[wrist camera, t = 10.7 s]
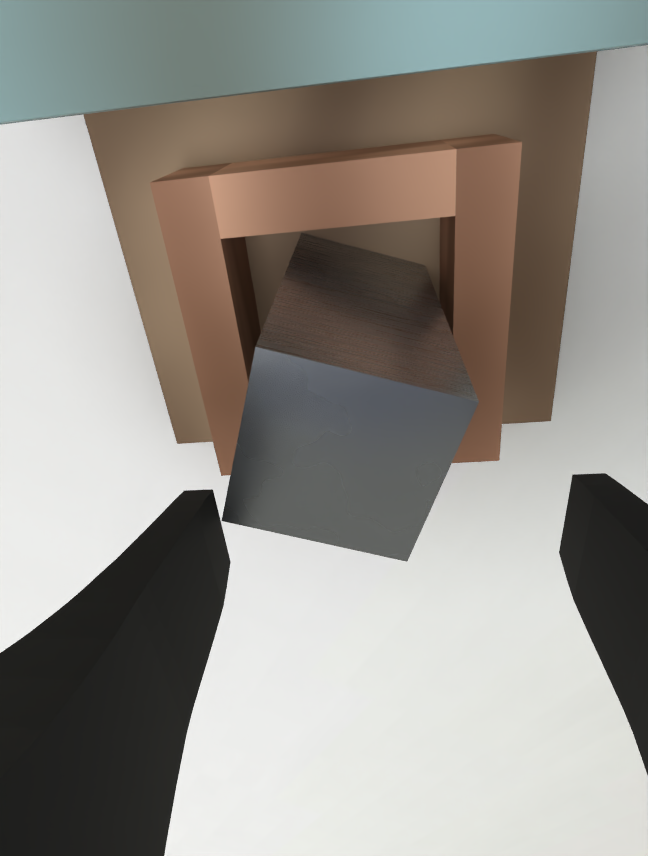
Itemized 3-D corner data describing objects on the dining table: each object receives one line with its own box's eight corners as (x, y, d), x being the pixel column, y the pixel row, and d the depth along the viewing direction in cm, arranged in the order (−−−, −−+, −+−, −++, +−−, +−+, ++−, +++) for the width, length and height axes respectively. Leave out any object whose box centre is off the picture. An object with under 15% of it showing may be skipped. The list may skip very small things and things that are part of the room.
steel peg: (425, 265, 17) (478, 401, 10) (387, 376, 19) (406, 561, 12) (301, 232, 17) (255, 346, 9) (276, 348, 19) (221, 520, 11)
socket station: (612, -200, 13) (1342, -1038, 3) (543, 407, 21) (694, 664, 11) (38, -105, 14) (-609, -508, 5) (184, 430, 22) (57, 676, 13)
